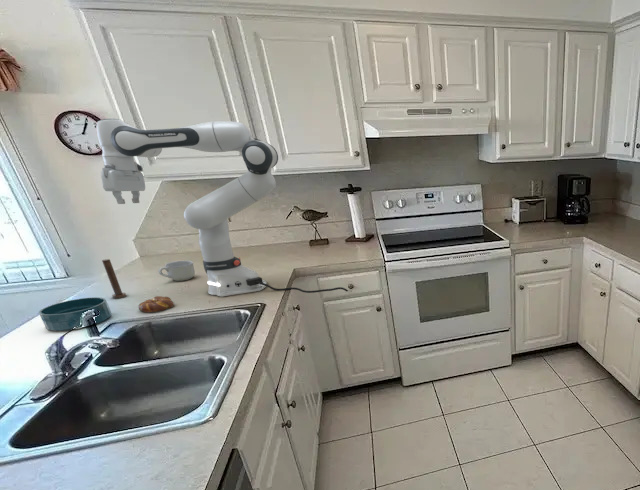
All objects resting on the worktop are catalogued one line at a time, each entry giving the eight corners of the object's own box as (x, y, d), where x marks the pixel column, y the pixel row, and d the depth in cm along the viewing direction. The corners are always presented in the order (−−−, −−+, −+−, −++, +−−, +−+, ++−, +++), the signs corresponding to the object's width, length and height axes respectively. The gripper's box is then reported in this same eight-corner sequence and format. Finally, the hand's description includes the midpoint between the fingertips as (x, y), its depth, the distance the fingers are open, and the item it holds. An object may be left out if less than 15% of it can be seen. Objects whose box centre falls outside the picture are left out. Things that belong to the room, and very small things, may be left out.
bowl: (120, 310, 159) (114, 295, 157) (98, 328, 144) (91, 311, 142) (64, 316, 154) (57, 300, 151) (34, 335, 139) (26, 317, 136)
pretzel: (141, 306, 163) (138, 297, 162) (175, 300, 169) (172, 292, 168) (138, 316, 154) (135, 306, 153) (174, 309, 160) (171, 300, 159)
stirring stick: (128, 294, 176) (115, 258, 170) (123, 298, 172) (109, 260, 166) (115, 295, 175) (101, 259, 169) (110, 299, 171) (96, 261, 165)
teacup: (193, 274, 203) (188, 258, 200) (200, 278, 197) (195, 262, 194) (158, 281, 193) (153, 264, 190) (165, 285, 187) (159, 269, 184)
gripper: (112, 164, 146) (122, 204, 150) (145, 167, 165) (152, 202, 169) (91, 164, 145) (101, 204, 148) (126, 166, 164) (134, 202, 167)
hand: (129, 203), depth 159 cm, fingers open, 8 cm apart
